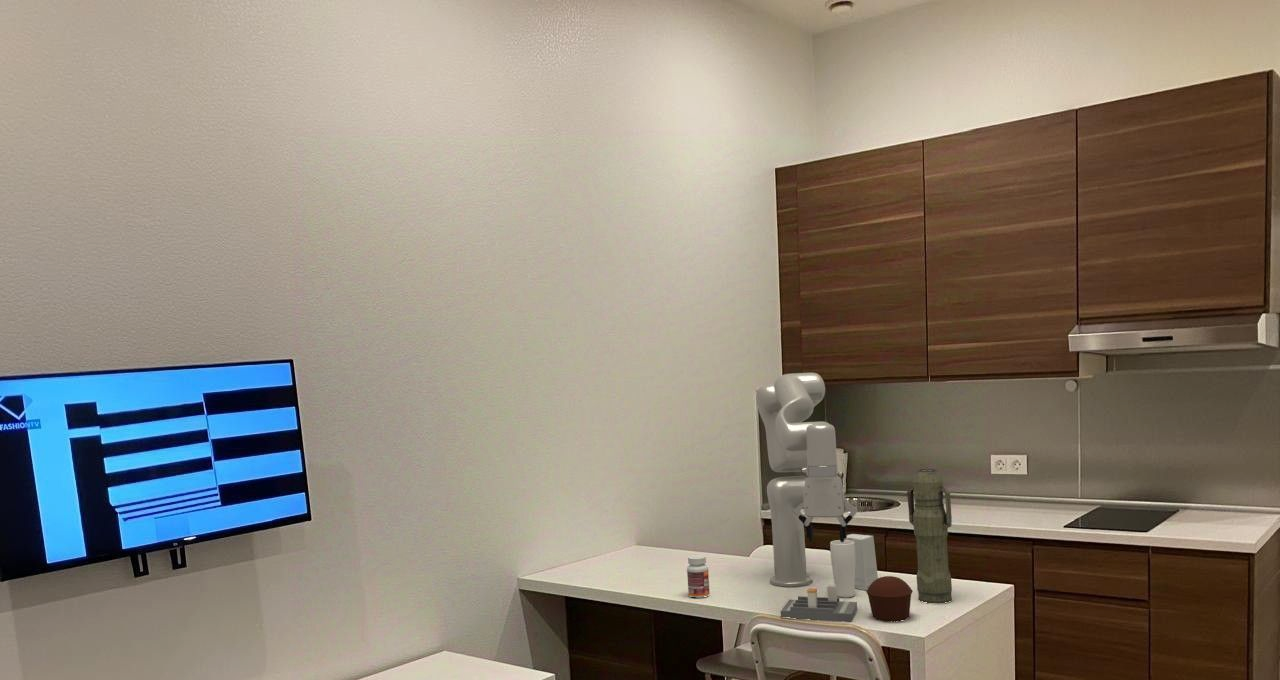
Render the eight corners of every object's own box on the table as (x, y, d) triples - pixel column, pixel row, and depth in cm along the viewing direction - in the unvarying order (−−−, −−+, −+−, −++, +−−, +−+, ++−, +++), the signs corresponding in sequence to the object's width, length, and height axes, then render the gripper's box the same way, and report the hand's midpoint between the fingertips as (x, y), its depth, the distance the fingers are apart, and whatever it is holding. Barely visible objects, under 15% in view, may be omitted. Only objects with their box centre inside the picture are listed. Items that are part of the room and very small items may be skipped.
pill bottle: (709, 598, 262) (707, 558, 262) (687, 599, 262) (685, 559, 263) (709, 593, 268) (707, 554, 268) (688, 593, 268) (686, 555, 269)
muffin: (895, 626, 225) (892, 585, 225) (858, 618, 233) (856, 578, 234) (923, 616, 232) (920, 576, 233) (886, 609, 241) (884, 570, 241)
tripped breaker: (809, 607, 238) (808, 588, 238) (817, 607, 237) (816, 588, 237) (808, 610, 235) (807, 590, 236) (816, 610, 235) (815, 590, 235)
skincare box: (879, 587, 264) (876, 535, 265) (865, 591, 261) (862, 538, 261) (856, 582, 271) (853, 532, 272) (842, 586, 267) (839, 535, 268)
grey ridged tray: (789, 606, 248) (788, 582, 248) (857, 609, 242) (855, 584, 242) (780, 618, 237) (779, 592, 237) (851, 621, 230) (850, 595, 231)
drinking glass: (840, 591, 261) (836, 539, 262) (861, 594, 257) (858, 540, 258) (828, 597, 256) (825, 543, 257) (850, 600, 252) (847, 545, 252)
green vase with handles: (919, 593, 254) (911, 467, 256) (962, 598, 247) (954, 468, 248) (907, 601, 248) (899, 471, 249) (950, 606, 240) (942, 472, 242)
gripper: (786, 474, 235) (790, 543, 235) (855, 473, 230) (859, 544, 229) (791, 470, 243) (795, 537, 242) (858, 469, 237) (863, 538, 236)
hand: (826, 540), depth 235 cm, fingers open, 7 cm apart
